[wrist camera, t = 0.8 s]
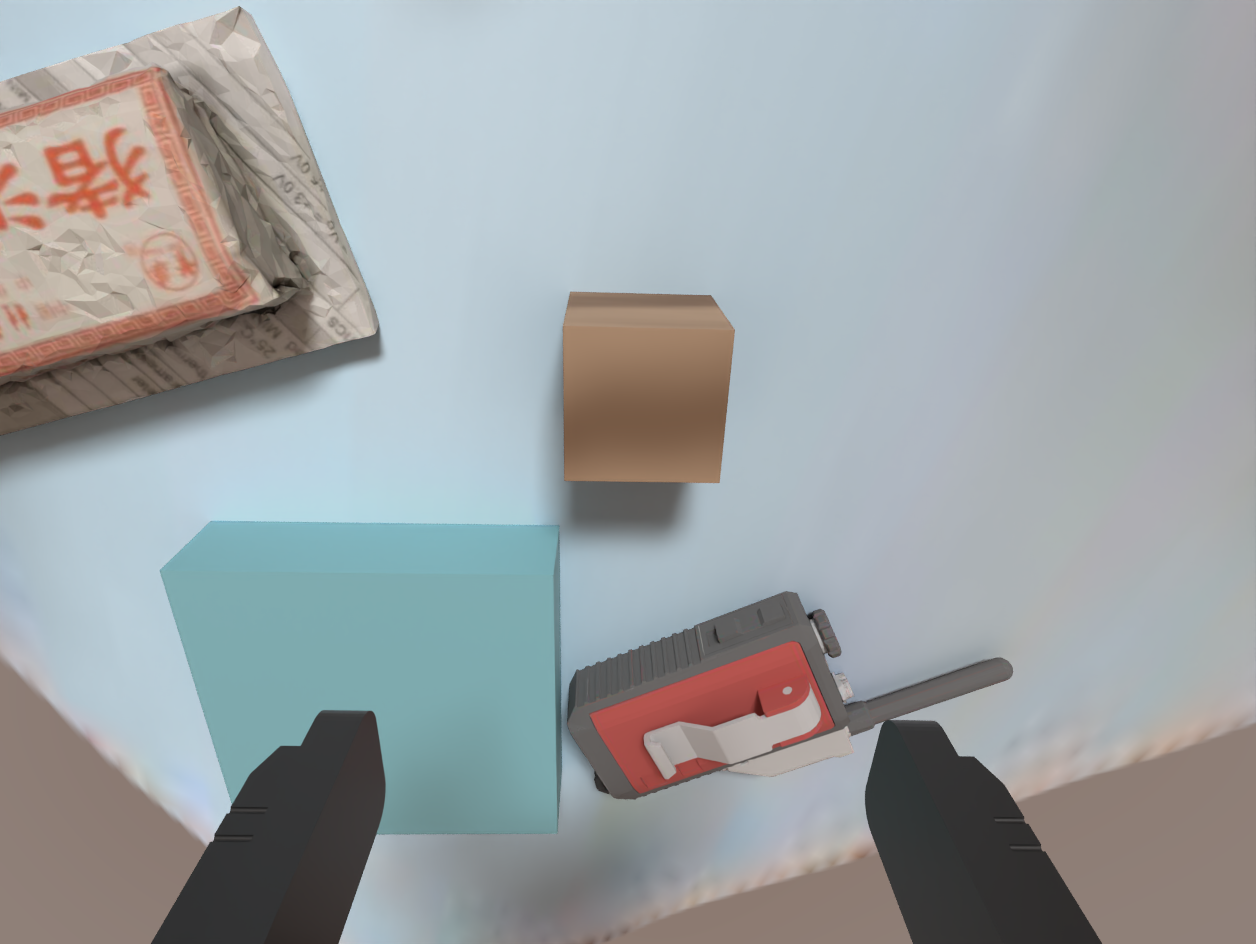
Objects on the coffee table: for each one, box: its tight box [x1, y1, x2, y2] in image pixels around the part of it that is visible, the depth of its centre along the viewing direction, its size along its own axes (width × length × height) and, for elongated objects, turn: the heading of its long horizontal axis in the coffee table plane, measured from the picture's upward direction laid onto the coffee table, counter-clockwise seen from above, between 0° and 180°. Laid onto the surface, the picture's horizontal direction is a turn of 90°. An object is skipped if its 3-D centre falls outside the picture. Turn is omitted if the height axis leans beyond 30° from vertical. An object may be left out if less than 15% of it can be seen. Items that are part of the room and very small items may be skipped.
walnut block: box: [563, 292, 735, 483], centre depth 23 cm, size 5×5×5 cm
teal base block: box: [160, 521, 562, 834], centre depth 30 cm, size 14×14×4 cm
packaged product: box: [0, 6, 379, 435], centre depth 22 cm, size 18×5×10 cm
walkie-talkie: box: [567, 591, 1013, 799], centre depth 31 cm, size 9×4×20 cm
